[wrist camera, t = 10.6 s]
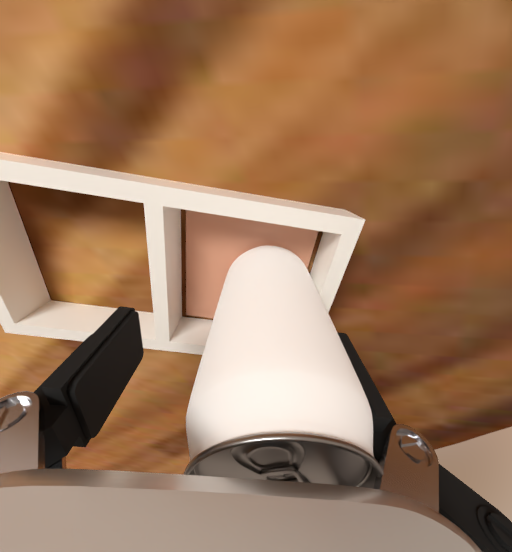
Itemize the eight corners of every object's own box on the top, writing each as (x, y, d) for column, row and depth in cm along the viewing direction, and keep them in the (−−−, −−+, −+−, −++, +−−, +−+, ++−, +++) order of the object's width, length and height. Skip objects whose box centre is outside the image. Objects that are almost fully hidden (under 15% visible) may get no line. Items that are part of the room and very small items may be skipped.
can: (297, 231, 15) (400, 405, 4) (315, 303, 17) (404, 518, 7) (213, 258, 16) (115, 453, 5) (243, 322, 18) (221, 534, 8)
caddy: (300, 339, 20) (307, 366, 17) (42, 308, 18) (5, 332, 15) (345, 209, 14) (365, 219, 11) (-22, 148, 13) (-96, 143, 10)
